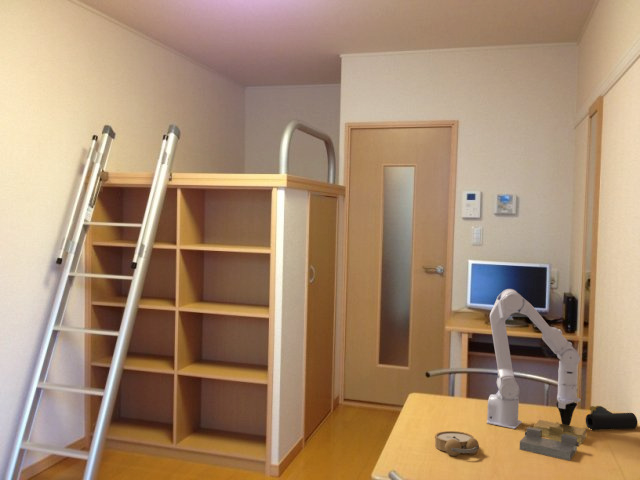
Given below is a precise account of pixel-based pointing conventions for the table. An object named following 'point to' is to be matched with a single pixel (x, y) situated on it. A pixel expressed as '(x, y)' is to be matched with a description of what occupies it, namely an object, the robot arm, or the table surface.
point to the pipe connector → (609, 419)
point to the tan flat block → (560, 430)
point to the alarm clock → (456, 443)
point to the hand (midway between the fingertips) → (566, 425)
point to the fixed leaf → (549, 444)
